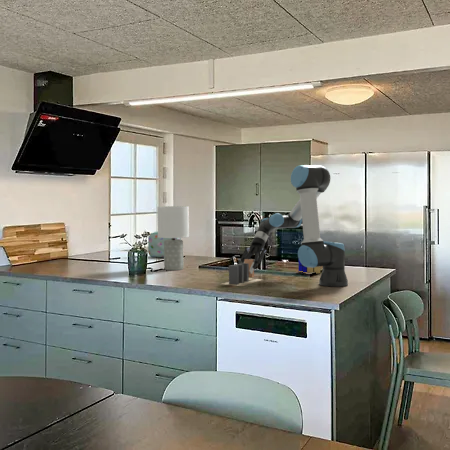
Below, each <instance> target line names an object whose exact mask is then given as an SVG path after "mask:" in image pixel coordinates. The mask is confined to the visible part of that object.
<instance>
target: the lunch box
mask: <svg viewBox="0 0 450 450" xmlns="http://www.w3.org/2000/svg"><path fill="white" fill-rule="evenodd" d="M150 234H151V235H150V236H149V235H148V241H147V242H148V243H147V246H148V247H147V248H148V251H147V252H148V255H149V257H152V258H163V259H164V241H165V240H169V239H172V238H159V237H158V231H154V232H151V233H150ZM175 239H180V240H182V238H175Z"/></svg>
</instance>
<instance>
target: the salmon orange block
mask: <svg viewBox="0 0 450 450" xmlns="http://www.w3.org/2000/svg"><path fill="white" fill-rule="evenodd" d="M254 261H255V259H251V258H250V259H244V263H249V270H250V267H251V265H252V263H253V262H254ZM254 277H255V269H254V270H253V272H252V274H250V272H249V278H254Z"/></svg>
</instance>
